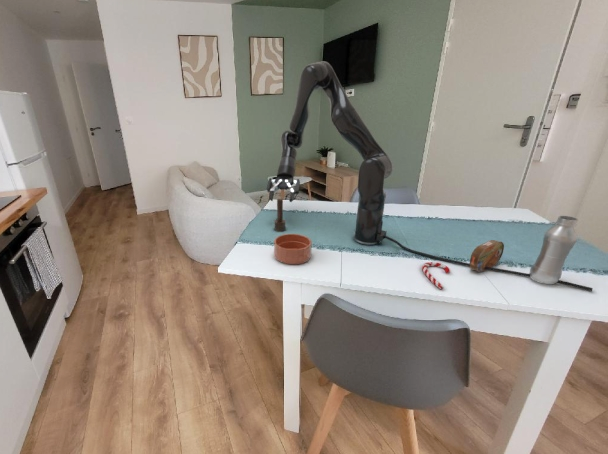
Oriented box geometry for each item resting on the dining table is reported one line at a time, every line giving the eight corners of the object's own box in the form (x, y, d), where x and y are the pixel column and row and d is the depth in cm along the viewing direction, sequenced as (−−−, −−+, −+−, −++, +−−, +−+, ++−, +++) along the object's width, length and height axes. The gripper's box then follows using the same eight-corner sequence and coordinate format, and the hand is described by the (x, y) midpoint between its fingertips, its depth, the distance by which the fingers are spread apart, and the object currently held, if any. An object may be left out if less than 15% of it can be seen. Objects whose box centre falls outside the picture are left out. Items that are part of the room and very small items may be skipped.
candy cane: (428, 284, 85) (420, 259, 98) (427, 287, 85) (419, 263, 98) (459, 288, 82) (447, 263, 95) (458, 292, 83) (446, 266, 95)
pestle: (286, 227, 131) (286, 198, 125) (284, 232, 127) (284, 201, 121) (276, 226, 132) (275, 197, 127) (273, 231, 128) (273, 200, 123)
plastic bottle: (520, 276, 89) (544, 214, 81) (541, 274, 89) (566, 213, 81) (542, 288, 83) (569, 223, 75) (564, 286, 83) (593, 221, 75)
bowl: (312, 250, 110) (313, 235, 108) (307, 267, 99) (308, 251, 96) (278, 246, 114) (278, 232, 112) (270, 262, 103) (270, 247, 101)
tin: (475, 275, 90) (482, 251, 87) (464, 271, 92) (471, 247, 89) (500, 262, 96) (508, 239, 93) (489, 258, 99) (497, 236, 95)
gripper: (269, 164, 130) (263, 195, 125) (301, 164, 126) (296, 197, 120) (272, 173, 137) (266, 203, 132) (303, 174, 132) (298, 205, 127)
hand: (280, 200), depth 126 cm, fingers open, 8 cm apart
